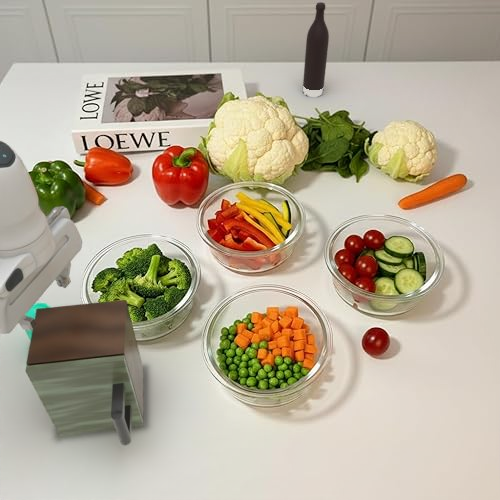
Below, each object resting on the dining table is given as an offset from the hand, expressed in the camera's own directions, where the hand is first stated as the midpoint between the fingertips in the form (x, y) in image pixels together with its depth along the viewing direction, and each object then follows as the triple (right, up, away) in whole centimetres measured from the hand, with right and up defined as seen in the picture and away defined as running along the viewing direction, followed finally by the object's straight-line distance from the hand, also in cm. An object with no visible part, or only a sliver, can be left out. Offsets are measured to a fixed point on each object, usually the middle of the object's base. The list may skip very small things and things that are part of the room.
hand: (47, 304), depth 88 cm
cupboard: (+5, -20, +16) cm, 26 cm away
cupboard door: (+6, -26, +10) cm, 29 cm away
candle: (-9, -11, +25) cm, 29 cm away
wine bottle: (+54, +63, +99) cm, 129 cm away
